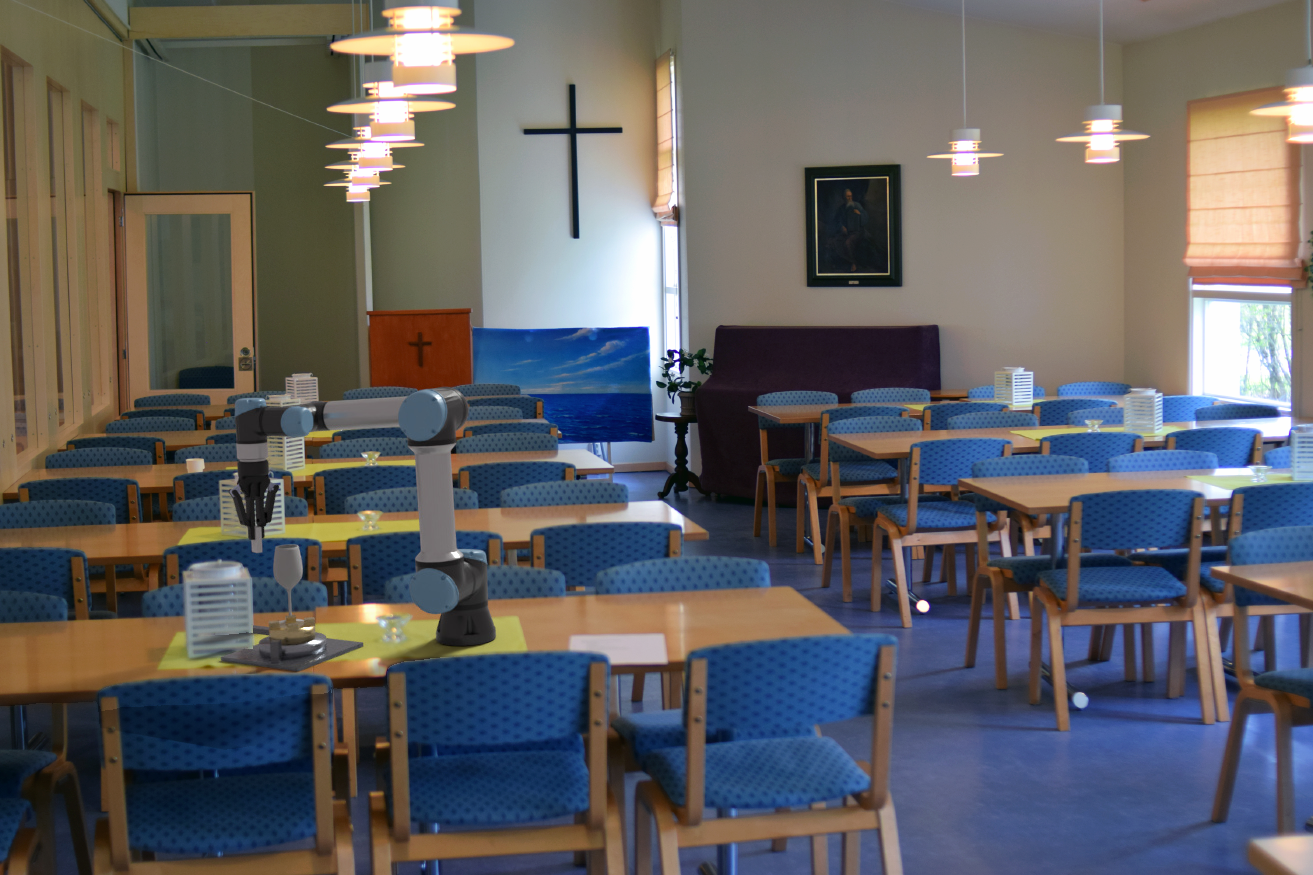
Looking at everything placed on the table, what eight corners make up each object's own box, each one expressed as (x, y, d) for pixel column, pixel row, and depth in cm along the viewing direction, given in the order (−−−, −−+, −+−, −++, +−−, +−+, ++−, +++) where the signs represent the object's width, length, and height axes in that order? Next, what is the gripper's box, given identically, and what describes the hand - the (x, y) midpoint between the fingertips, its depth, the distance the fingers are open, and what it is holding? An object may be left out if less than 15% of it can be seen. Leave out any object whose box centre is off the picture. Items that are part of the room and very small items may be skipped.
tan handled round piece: (325, 635, 325) (323, 605, 324) (294, 646, 315) (293, 615, 314) (253, 626, 335) (252, 598, 334) (222, 636, 325) (220, 607, 324)
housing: (363, 646, 328) (362, 622, 328) (298, 671, 307) (297, 646, 306) (289, 637, 339) (287, 614, 338) (220, 660, 317) (219, 636, 317)
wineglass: (276, 627, 349) (272, 550, 347) (276, 620, 356) (272, 544, 354) (305, 625, 351) (301, 548, 349) (305, 618, 358) (301, 543, 356)
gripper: (269, 455, 336) (273, 546, 339) (221, 460, 327) (226, 553, 330) (283, 458, 331) (287, 550, 334) (235, 463, 322) (240, 557, 325)
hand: (257, 551), depth 332 cm, fingers closed
